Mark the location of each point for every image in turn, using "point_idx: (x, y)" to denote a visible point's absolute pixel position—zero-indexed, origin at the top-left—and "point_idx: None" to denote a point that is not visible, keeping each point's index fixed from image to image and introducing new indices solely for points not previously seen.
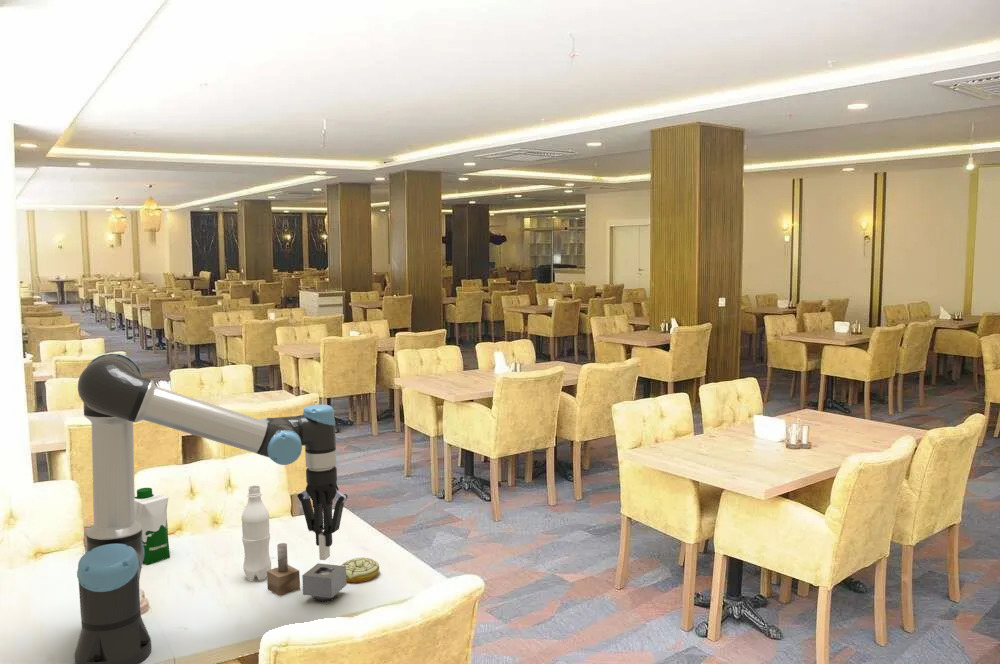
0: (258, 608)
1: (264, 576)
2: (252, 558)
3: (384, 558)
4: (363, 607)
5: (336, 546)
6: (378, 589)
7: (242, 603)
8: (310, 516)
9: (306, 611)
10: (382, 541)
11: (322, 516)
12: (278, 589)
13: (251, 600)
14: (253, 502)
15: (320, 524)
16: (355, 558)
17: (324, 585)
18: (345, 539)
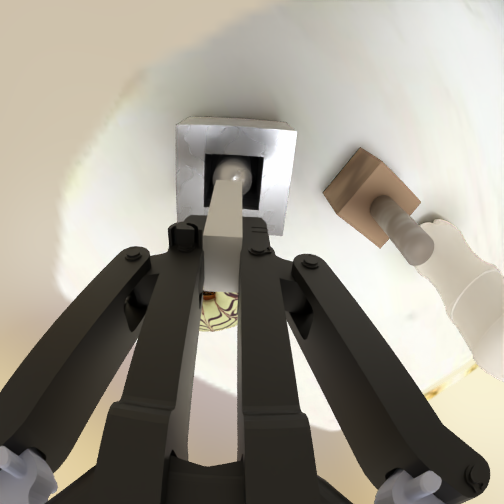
0: (383, 78)
1: None
2: (461, 246)
3: (198, 350)
4: (113, 129)
5: (309, 371)
6: (128, 227)
7: (426, 106)
8: (329, 339)
9: (249, 69)
10: (236, 393)
11: (237, 362)
12: (368, 153)
13: (413, 122)
14: None
15: (239, 300)
16: (227, 324)
17: (208, 121)
18: (301, 389)
